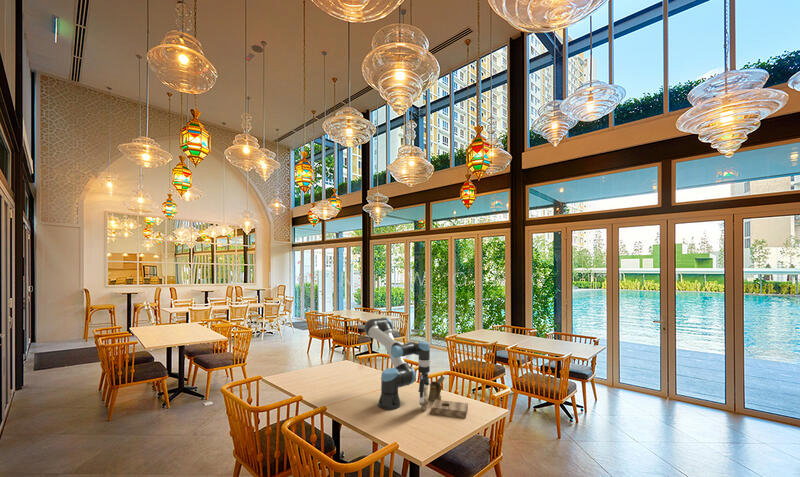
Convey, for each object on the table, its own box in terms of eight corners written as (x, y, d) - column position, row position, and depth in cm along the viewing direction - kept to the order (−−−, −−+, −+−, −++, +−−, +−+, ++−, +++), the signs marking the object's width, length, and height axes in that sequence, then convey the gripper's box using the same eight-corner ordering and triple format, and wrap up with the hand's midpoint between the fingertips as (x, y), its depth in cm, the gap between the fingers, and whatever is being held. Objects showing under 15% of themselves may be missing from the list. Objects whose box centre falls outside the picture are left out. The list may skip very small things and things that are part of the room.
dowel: (418, 410, 233) (418, 387, 234) (420, 407, 239) (420, 384, 240) (427, 411, 232) (427, 388, 233) (428, 408, 237) (429, 385, 238)
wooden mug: (437, 404, 245) (437, 377, 246) (425, 398, 256) (426, 372, 258) (447, 401, 250) (447, 375, 251) (435, 395, 261) (435, 370, 262)
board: (431, 413, 229) (431, 407, 229) (435, 405, 242) (435, 399, 242) (465, 418, 223) (465, 411, 223) (467, 409, 236) (467, 403, 236)
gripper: (425, 371, 224) (425, 406, 223) (433, 361, 248) (433, 392, 247) (414, 370, 227) (414, 404, 225) (422, 360, 250) (422, 391, 249)
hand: (423, 398), depth 236 cm, fingers open, 13 cm apart
